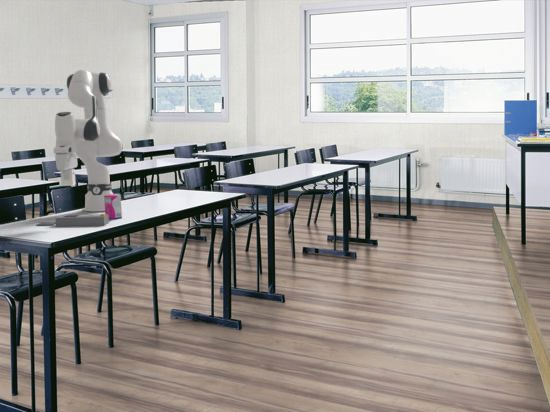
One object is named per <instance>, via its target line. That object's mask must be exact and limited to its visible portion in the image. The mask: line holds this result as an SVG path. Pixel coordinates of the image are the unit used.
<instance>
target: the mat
mask: <svg viewBox="0 0 550 412" xmlns="http://www.w3.org/2000/svg"><path fill="white" fill-rule="evenodd" d="M35 225H36V227H38V226H39V227H44V226H45V227H50V226H55V221H54V222H53V221H52V222H51V221H50V222H44V221H43V222H42V221H41V222H39V223H37V224H35Z"/></svg>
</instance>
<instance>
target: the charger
mask: <svg viewBox="0 0 550 412" xmlns="http://www.w3.org/2000/svg"><path fill="white" fill-rule="evenodd" d="M68 176H69V179H68V180H64V176H63V173H62V170H60V179H61V181H60V182H61V186H62V187H65V186H66V187H70V186H76V169H75V168H73V169H68Z"/></svg>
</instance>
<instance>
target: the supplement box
mask: <svg viewBox="0 0 550 412" xmlns="http://www.w3.org/2000/svg"><path fill="white" fill-rule="evenodd" d="M104 202H105V211H104V213H105V214H108V218H110V219H111V220H118V219H122V218H123V213H122V212H123V211H122V197H121V194H114V193H113V194H112V195H104Z"/></svg>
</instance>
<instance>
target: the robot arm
mask: <svg viewBox="0 0 550 412" xmlns="http://www.w3.org/2000/svg"><path fill="white" fill-rule="evenodd" d="M66 88H67V90H68V91H67V97H68V100H69V101H70V103H72V104H73V105H74V106H76V107H78V108H83V110H84V111H83V112H84V114H83V115H84V118H82V119H80V118H79V119H75V115H74V113H73V112H71V111H61V112H58V113H56V114H55V120H54V132H55V136H56V139H55V147H54V148H53V154H55V155H54V158H55V166H56V167H55V168H56V170H57V171H61V170H62V173H63V176H64V180H68V179H69V176H68V169H75V168H77V167H78V164H79V163H78V159H80V160H81V162H82V163H83V164H84V166H85V169H86V173H87V182H88V183H87V186H86V187H87V193H85V195H84V197H85V199H84V200H85V201H84V202H85V203H84V204H85V205H84V207H83V208H82V211H84V212H85V211H87V212H105V202H104V195H112V194H114V193H113V191H112V183H111V181H110V178H111V177H110V169H109V167H108V166H107V165H105V164H104V163H101V162H99V161H98V160H97V158H105V157H106V158H107V157H109V158H110V157H115V156H119V155H120V154H121V153H122V152H123V148H124V147H123V142H122V141H123V140H121V139H120V137H118V136H117V135H115V133H114V132H113V131H112V130H111V128H110V125H109V123H108V116H107V115H108V114H107V104H106V98H105V97H106V95H107V94H109V92H110V91H111V89H112V80H111V77H110V75H109V74H108V73H106V72H92V71H91V72H89V71H88V70H86V69H79V70H76V71H75V72H74V73H72V74H69V75H68V77H67V78H66Z"/></svg>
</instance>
